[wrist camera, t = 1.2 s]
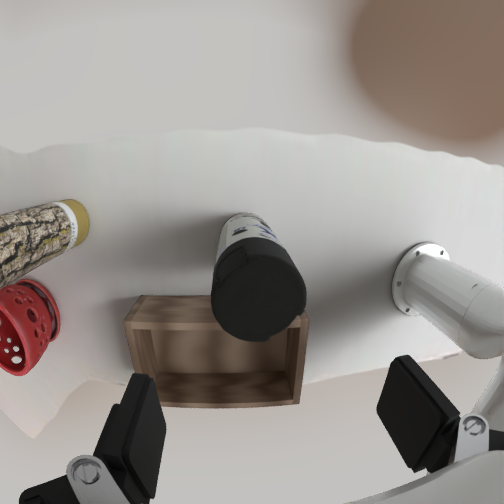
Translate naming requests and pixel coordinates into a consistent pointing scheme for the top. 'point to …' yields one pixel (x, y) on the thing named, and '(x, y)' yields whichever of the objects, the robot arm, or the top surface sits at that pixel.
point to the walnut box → (212, 356)
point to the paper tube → (39, 236)
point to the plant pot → (26, 324)
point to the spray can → (254, 281)
